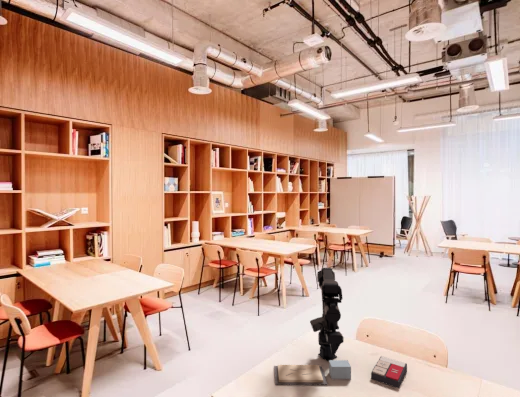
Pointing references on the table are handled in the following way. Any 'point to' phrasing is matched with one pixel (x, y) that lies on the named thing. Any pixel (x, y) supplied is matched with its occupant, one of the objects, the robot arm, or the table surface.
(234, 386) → the table surface
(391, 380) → the black red beige box
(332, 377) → the block
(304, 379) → the board
